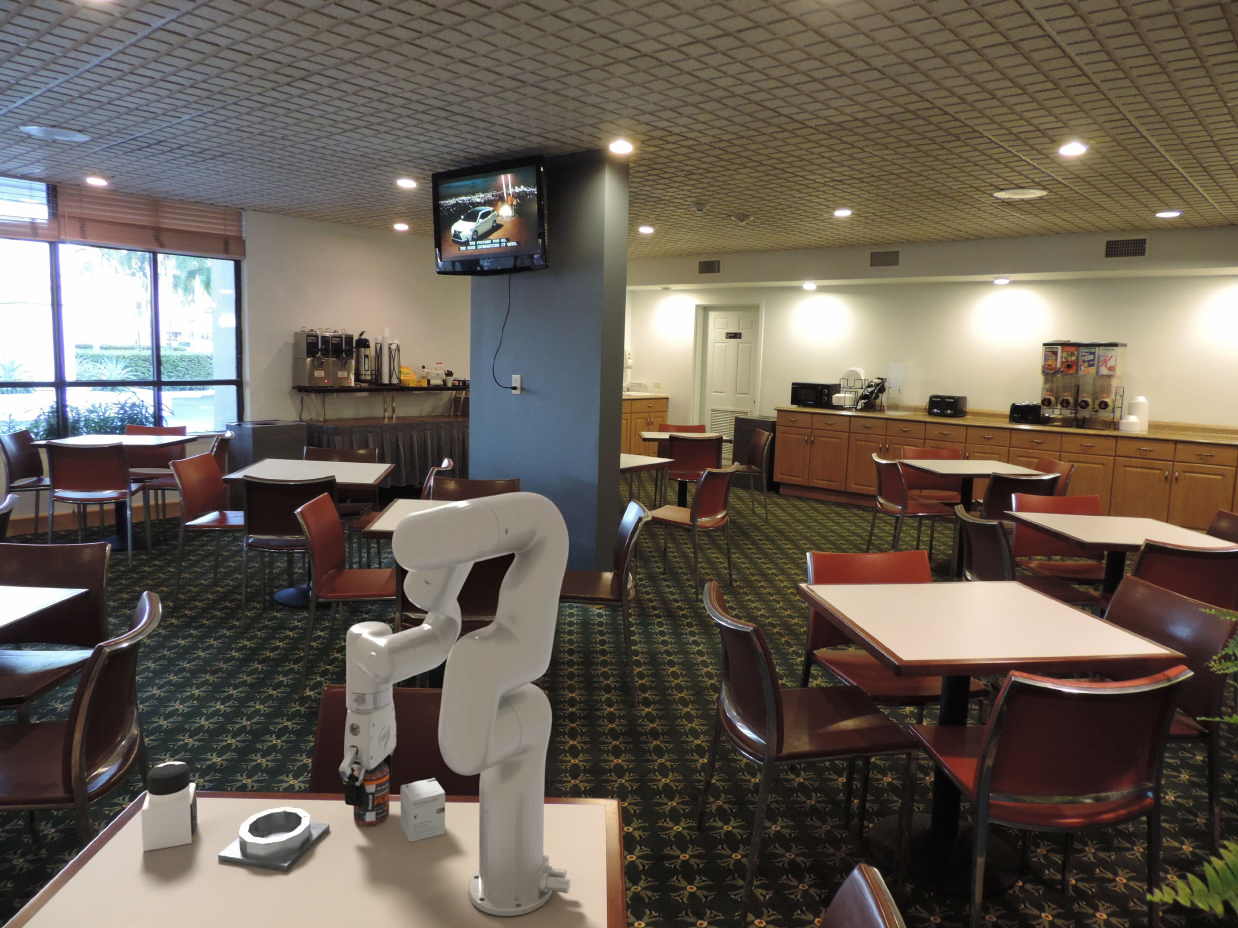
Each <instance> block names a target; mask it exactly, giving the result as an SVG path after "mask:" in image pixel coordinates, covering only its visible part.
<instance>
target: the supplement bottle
mask: <svg viewBox="0 0 1238 928" xmlns="http://www.w3.org/2000/svg"><path fill="white" fill-rule="evenodd" d="M383 762H384V760H382V761H381V762H380V763H379V764H378V765H377V766H376V767H374V768H373V769H372V770H367V769H366V770H365V773H364V776H363V779H362V782H361V783H364V805H363V806H362V807H358V806H353V820H354V822H355V823H356V824H358V825H360V826H365V827H372V826H373V827H374V826H377V825H379V824H382V823H383V822H385V821H386V820H387V819H388V818H389V816H390V778H389V768H388V766H387V765H386V764H384V763H383ZM358 764H359V765H361V764H360V762H359V761H358ZM358 772H359V769H354V770H353V774H354V775H355V776H356V777H357V775H358Z"/></svg>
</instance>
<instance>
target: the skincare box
mask: <svg viewBox="0 0 1238 928" xmlns="http://www.w3.org/2000/svg"><path fill="white" fill-rule="evenodd" d="M399 820H400V823H399V824H400V827H401V828H402V830H403V832H404V833H405V835H406V837H407V839H408V840H409V842H413V843H414V842H416V841H419V840H424V839H427V838H431V837H436V836H439V835H443V834H445V833H446V792H445V790H444V789H443V788H442V786H441V785H440V784H439V782H438V781H437V780H436V778H435V777H432V778H429V779H423V780H417V781H413V782H412V783H411V782H410V783H405V784H402V785H400V819H399Z"/></svg>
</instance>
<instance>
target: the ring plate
mask: <svg viewBox="0 0 1238 928" xmlns="http://www.w3.org/2000/svg"><path fill="white" fill-rule="evenodd" d="M330 827H331V826H330V824H329V823H321V822H318V821H317V822H316V821H311V815H310V814H309V813H308V812H307V811H305V810H303V809H302V808H297V807H296V808H295V807H290V806H283V807H276V808H271V809H270V808H269V809H266V810H264V811H262V812H261V811H260V812H258V813H257V814H256V813H255V814H253V815H252V816H250V817H249V818H247V820H245V821H244V822H243V823H242V824H241V825H240V829H239V833H238V836H239V837H238V838H236V839H235V840H234V841H233V842H231V843H230V844H229V845H228V846H227V847H225V848H224V849H223V850H222V851H221V852H219V853H218V854H217V859H218V860H217V861H218V862H223V863H224V862H225V863H228V864H237V865H242V866H248V867H255V868H261V869H267V870H271V871H272V870H273V871H274V870H275V871H280V872H285V873H286V872H288V871H289V870H290V869H291V868H292V867H293V866H294V865H295V864H296V863H297V862H298V861H299V860H301V858H303V857H304V856H305V855H306V853H307V852H308V851H310V850H311V849H312V848H313V847H314V846H315V845H316V844H317V843H318V842H319V841H320V840H321V839H322V838H323V837H324V836H325V835H326V834H327V833H328V832H329V831H330Z"/></svg>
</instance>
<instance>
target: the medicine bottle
mask: <svg viewBox="0 0 1238 928" xmlns="http://www.w3.org/2000/svg"><path fill="white" fill-rule="evenodd" d="M190 775H191V774H190V766H189V765H188V764H187V763H185V762H182V761H168V762H165V763H161V764H158V765H156V766H155V767H152V768H151V769H150V770H149V772H148V773H147V774H146V780H147V781H146V782H147V793H146V796H145V797H144V798H145V799H144V802H143V805H142V808H141V810H140V812H141V813H140V814H141V817H140V818H141V836H142V850H143V852H149V851H155V850H160V849H167V848H172V847H178V846H184V845H185V846H186V845H189V844H192V843H193V842H194V838H195V833H196V829H197V824H198V802H197V801H198V800H197V799H198V798H197V784H196V783H195V782H191V781H190V779H191V778H190Z"/></svg>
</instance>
